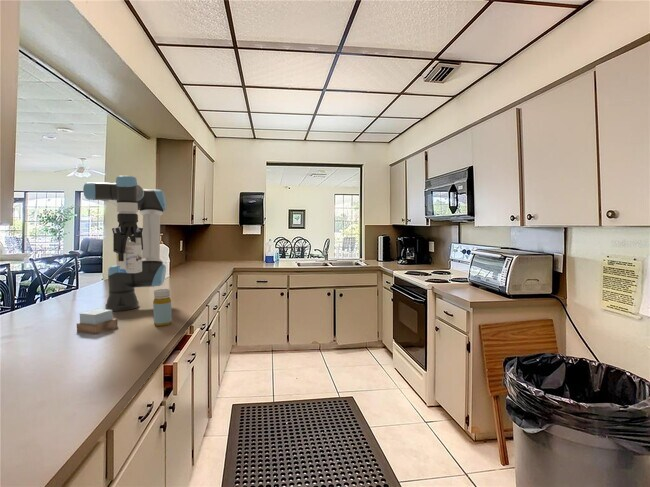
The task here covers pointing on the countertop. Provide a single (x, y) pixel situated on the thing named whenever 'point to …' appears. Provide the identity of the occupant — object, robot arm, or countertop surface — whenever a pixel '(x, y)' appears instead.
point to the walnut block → (97, 327)
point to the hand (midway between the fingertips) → (129, 267)
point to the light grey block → (96, 316)
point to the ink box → (132, 257)
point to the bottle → (162, 307)
